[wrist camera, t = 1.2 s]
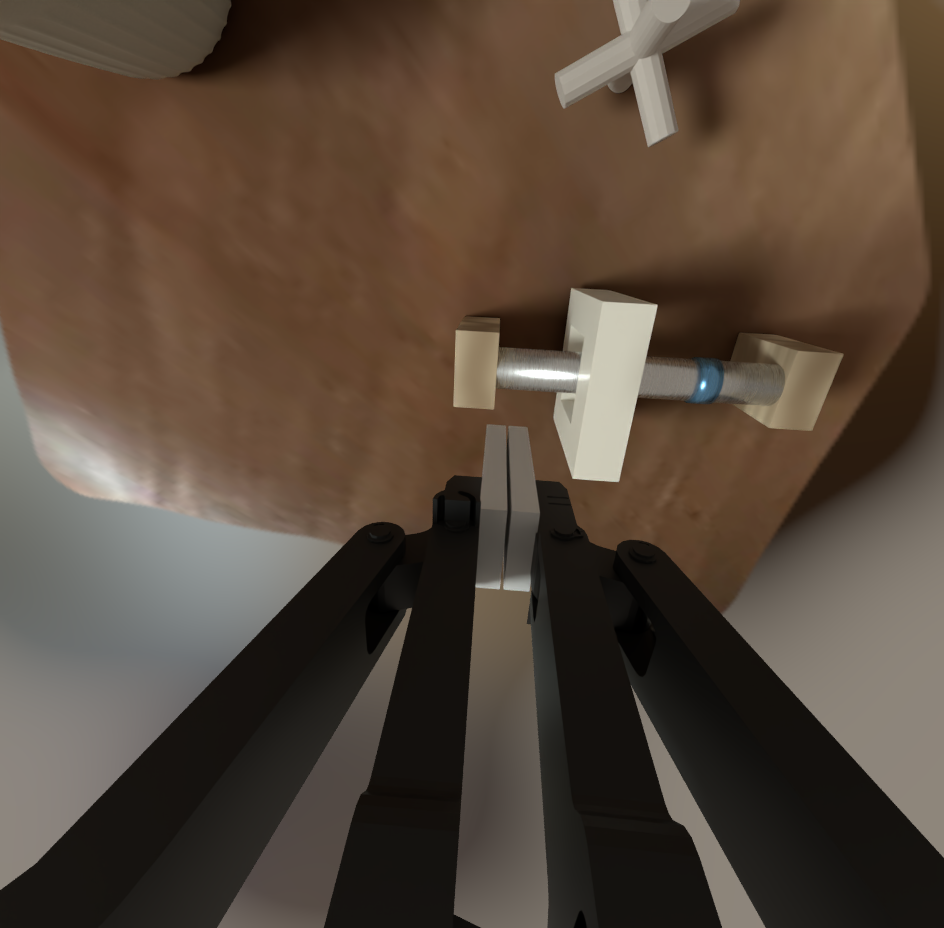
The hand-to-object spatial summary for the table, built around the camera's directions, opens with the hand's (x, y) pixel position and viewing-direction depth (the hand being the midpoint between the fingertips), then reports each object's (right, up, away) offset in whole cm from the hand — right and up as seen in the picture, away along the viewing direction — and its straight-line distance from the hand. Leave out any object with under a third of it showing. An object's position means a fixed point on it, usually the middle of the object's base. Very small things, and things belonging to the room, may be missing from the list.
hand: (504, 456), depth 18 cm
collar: (+8, +9, +19) cm, 22 cm away
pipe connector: (+9, +26, +12) cm, 30 cm away
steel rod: (+11, +7, +15) cm, 20 cm away
